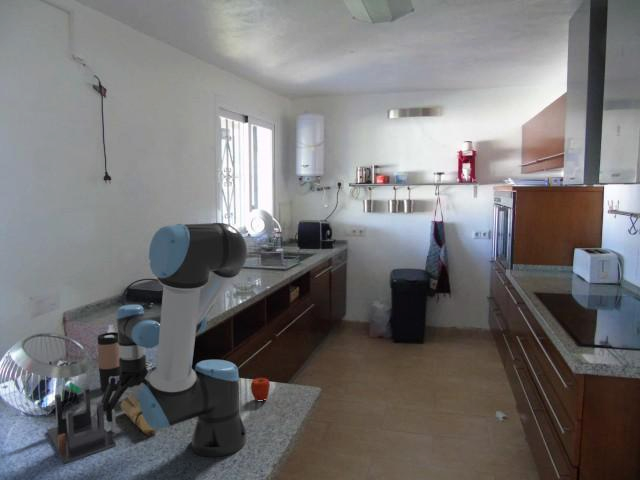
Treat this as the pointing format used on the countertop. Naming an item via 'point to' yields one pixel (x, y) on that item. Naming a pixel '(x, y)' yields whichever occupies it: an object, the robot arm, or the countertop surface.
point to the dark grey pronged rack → (79, 431)
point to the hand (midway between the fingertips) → (135, 423)
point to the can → (136, 388)
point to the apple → (260, 388)
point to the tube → (136, 414)
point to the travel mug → (108, 358)
